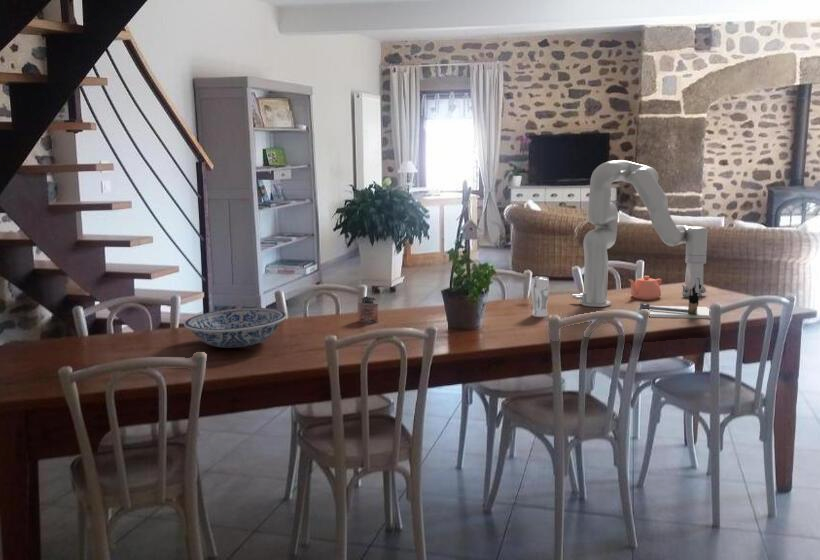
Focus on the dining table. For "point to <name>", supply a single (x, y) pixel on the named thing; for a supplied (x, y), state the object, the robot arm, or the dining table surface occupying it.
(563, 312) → the dining table surface
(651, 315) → the tuner dial board
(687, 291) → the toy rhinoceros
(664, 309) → the tuning lever
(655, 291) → the teapot
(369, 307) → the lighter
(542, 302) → the beer glass
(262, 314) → the ceramic bowl
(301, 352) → the dining table surface
